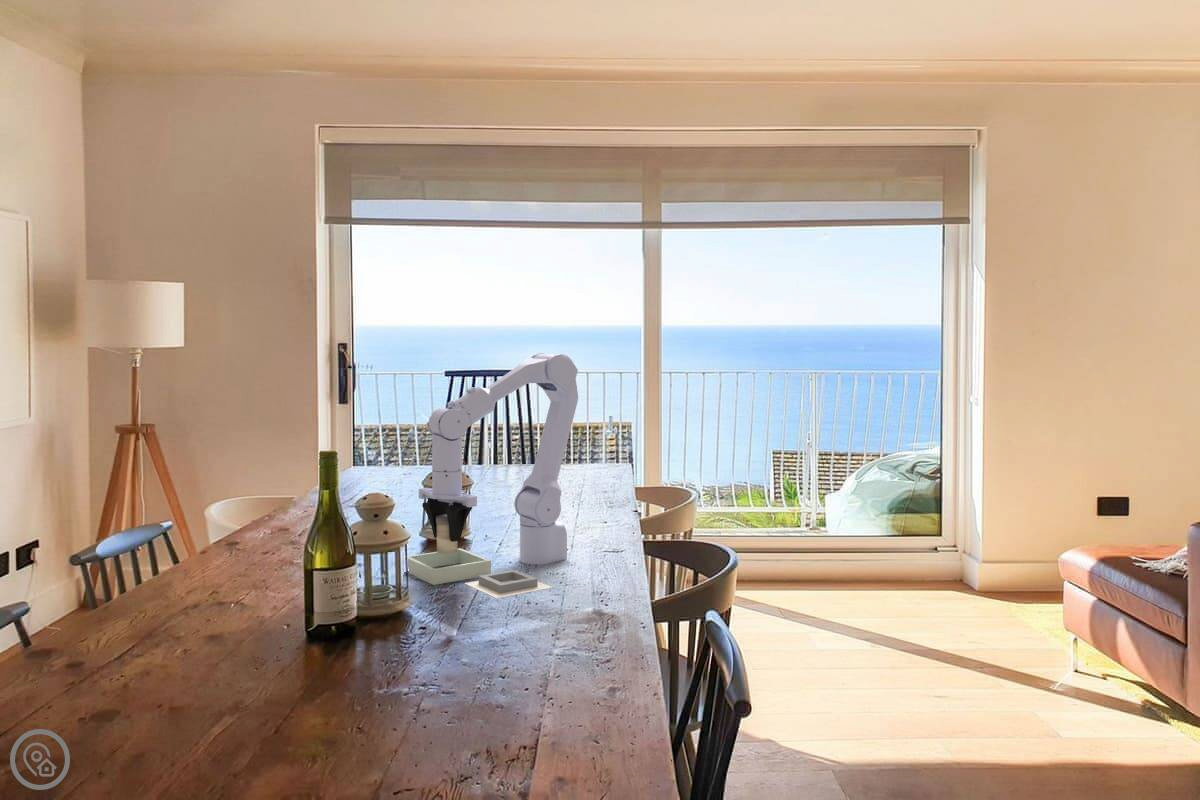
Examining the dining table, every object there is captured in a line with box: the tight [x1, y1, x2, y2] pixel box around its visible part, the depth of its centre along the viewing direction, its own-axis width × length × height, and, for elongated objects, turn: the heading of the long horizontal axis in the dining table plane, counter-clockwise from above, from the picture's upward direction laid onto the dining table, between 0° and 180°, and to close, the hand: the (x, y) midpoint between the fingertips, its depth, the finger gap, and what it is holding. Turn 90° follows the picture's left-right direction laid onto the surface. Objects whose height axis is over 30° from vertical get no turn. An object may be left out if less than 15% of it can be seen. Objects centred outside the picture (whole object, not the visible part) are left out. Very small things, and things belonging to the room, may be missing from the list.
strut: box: [436, 514, 459, 554], centre depth 182 cm, size 4×4×7 cm
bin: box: [407, 548, 492, 586], centre depth 183 cm, size 12×12×4 cm
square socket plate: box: [463, 569, 553, 599], centre depth 175 cm, size 12×12×3 cm
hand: (447, 538), depth 183 cm, fingers closed on strut, 4 cm apart
